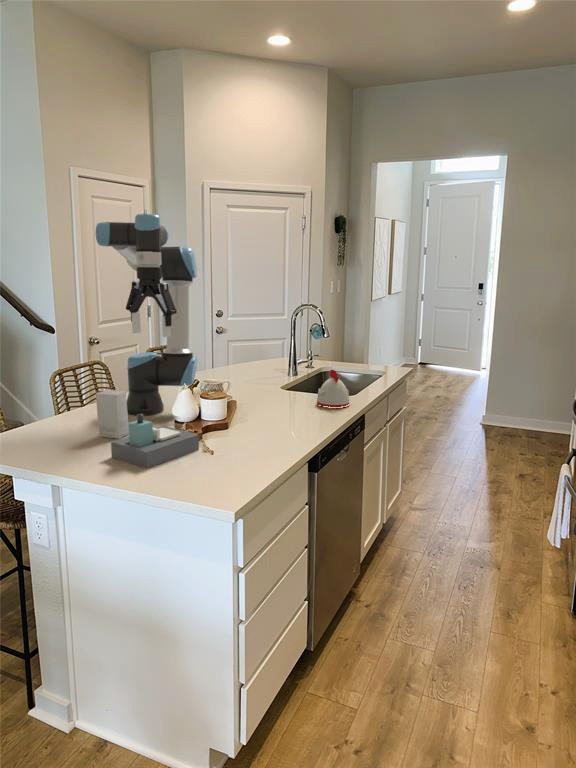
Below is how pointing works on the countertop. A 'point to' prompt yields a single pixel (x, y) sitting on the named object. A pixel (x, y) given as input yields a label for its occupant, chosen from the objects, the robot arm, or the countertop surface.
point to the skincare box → (112, 414)
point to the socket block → (155, 449)
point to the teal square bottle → (140, 432)
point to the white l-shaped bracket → (164, 434)
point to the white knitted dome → (333, 392)
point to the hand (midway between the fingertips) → (151, 334)
